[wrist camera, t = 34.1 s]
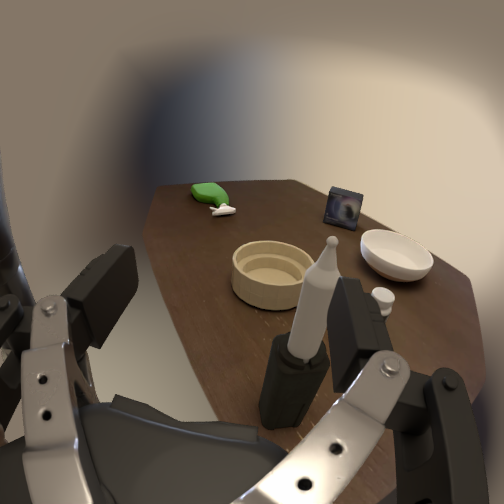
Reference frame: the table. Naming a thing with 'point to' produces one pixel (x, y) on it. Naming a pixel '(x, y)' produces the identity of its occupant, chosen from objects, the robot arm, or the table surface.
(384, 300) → the pill bottle
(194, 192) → the spray bottle
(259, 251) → the beige round dish
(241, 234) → the table surface
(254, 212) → the table surface
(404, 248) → the bowl
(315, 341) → the candle
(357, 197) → the small box
